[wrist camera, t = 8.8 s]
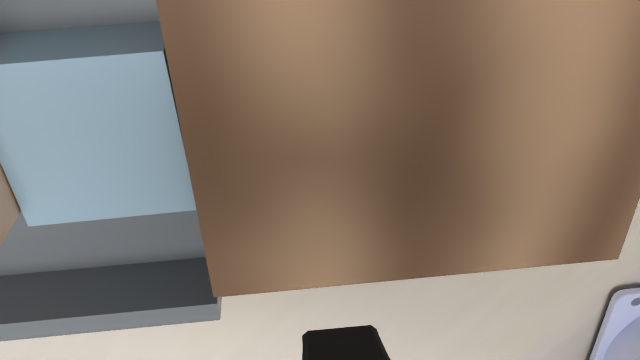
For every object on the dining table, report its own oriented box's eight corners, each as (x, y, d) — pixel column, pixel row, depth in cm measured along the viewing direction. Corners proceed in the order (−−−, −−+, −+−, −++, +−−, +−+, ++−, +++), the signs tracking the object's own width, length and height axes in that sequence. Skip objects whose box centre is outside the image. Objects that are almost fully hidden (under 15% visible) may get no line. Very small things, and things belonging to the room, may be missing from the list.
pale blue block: (175, 19, 16) (163, 50, 14) (203, 165, 19) (197, 210, 17) (-1, 33, 16) (-42, 67, 14) (54, 178, 19) (28, 226, 16)
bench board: (664, -146, 15) (757, -138, 13) (571, 202, 22) (618, 258, 19) (157, -122, 15) (134, -108, 12) (219, 233, 21) (213, 297, 18)
